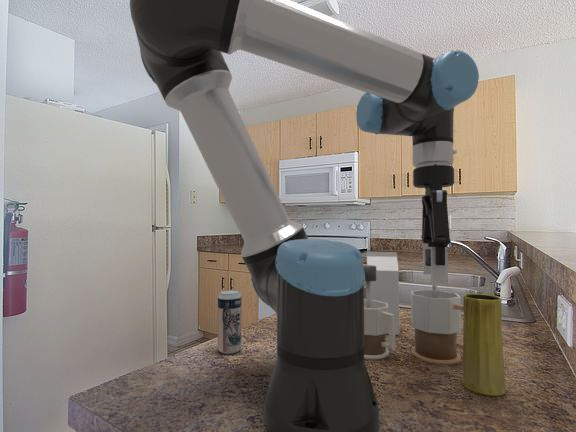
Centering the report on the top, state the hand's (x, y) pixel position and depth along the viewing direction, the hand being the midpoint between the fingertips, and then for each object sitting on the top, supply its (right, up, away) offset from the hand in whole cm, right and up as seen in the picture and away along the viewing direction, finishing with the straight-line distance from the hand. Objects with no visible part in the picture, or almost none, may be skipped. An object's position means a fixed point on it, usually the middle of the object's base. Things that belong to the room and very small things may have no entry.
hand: (434, 278), depth 67 cm
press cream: (-12, -15, 0) cm, 19 cm away
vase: (+2, -15, -13) cm, 20 cm away
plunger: (0, -9, 0) cm, 9 cm away
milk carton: (-6, -16, +16) cm, 23 cm away
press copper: (+1, -15, -2) cm, 15 cm away
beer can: (-41, -15, +2) cm, 44 cm away
